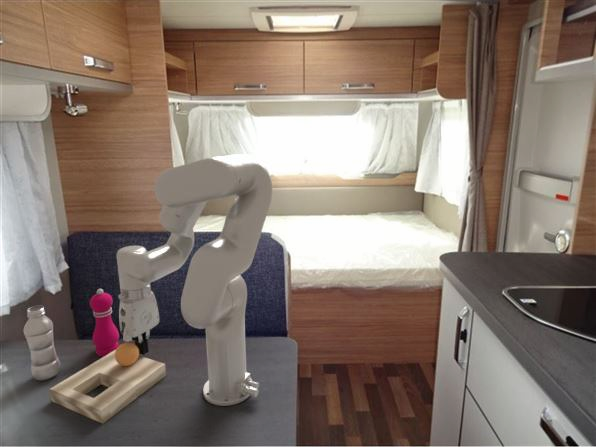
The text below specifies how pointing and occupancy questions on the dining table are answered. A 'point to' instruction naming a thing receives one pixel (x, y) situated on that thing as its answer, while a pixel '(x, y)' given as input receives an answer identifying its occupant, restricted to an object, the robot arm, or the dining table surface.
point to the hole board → (118, 378)
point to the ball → (126, 354)
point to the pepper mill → (104, 324)
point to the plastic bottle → (41, 344)
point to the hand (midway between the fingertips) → (142, 352)
